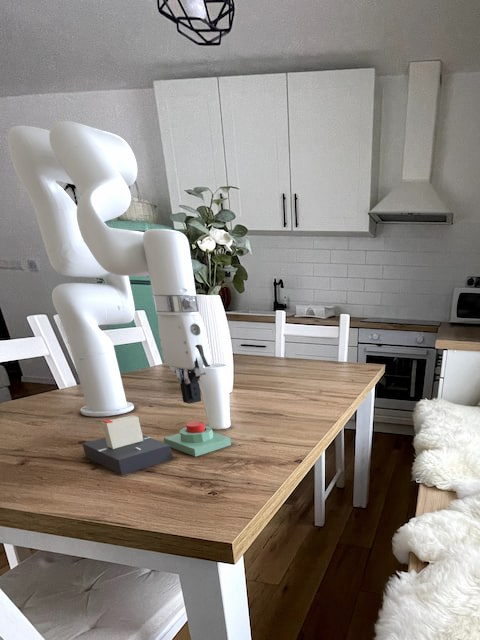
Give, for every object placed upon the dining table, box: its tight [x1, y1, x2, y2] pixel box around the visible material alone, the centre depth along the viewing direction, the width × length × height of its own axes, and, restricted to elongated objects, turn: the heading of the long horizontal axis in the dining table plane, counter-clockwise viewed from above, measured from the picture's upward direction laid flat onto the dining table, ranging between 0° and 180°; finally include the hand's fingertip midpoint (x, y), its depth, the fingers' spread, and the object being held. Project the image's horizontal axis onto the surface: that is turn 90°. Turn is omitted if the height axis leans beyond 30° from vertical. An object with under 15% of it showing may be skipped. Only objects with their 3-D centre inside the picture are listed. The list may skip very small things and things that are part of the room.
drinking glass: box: [199, 363, 232, 431], centre depth 95 cm, size 7×7×15 cm
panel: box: [81, 434, 173, 476], centre depth 78 cm, size 14×10×3 cm
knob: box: [101, 414, 143, 449], centre depth 77 cm, size 6×2×5 cm, turn 146°
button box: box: [163, 425, 232, 458], centre depth 86 cm, size 11×9×4 cm
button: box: [185, 421, 205, 433], centre depth 85 cm, size 4×4×2 cm
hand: (192, 401), depth 82 cm, fingers closed
